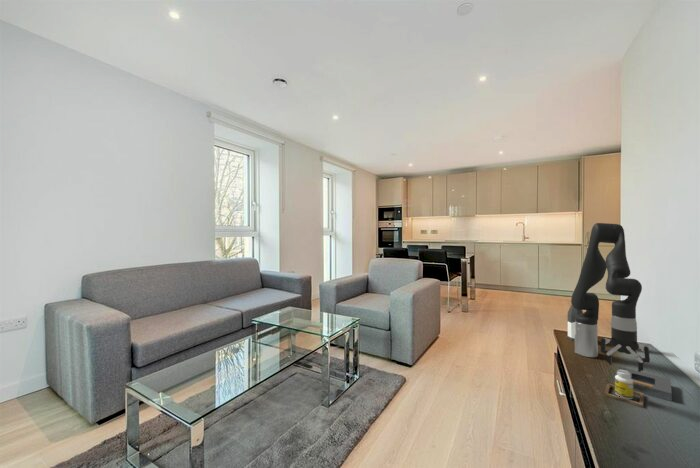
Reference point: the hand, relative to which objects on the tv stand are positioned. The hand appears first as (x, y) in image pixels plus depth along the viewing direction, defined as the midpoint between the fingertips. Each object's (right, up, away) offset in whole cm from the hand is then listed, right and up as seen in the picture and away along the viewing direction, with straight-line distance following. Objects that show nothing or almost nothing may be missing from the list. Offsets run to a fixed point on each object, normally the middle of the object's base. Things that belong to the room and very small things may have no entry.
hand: (624, 367), depth 115 cm
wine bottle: (+28, -11, +60) cm, 67 cm away
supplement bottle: (0, -12, 0) cm, 12 cm away
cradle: (0, -12, 0) cm, 12 cm away
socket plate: (+15, -11, +8) cm, 20 cm away
